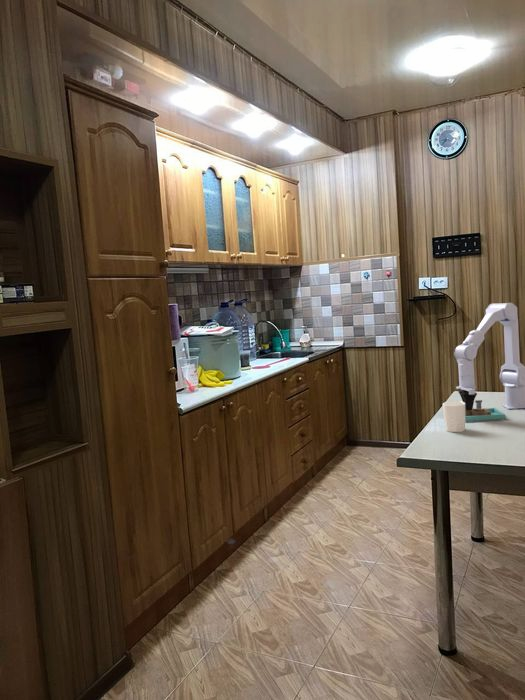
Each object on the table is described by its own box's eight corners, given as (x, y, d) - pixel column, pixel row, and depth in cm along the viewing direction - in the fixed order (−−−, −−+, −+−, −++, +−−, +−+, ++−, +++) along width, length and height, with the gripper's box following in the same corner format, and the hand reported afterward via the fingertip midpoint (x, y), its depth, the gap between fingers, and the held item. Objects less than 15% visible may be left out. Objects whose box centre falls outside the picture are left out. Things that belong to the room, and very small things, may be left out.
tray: (495, 412, 222) (495, 407, 222) (505, 419, 211) (505, 414, 210) (454, 415, 224) (454, 410, 224) (462, 422, 212) (462, 417, 212)
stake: (481, 409, 229) (481, 399, 229) (483, 410, 227) (482, 400, 227) (475, 410, 230) (474, 400, 229) (476, 411, 228) (475, 401, 227)
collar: (485, 413, 220) (486, 401, 220) (491, 417, 213) (491, 404, 213) (459, 413, 221) (460, 401, 221) (464, 417, 215) (464, 404, 214)
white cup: (442, 432, 201) (440, 405, 200) (446, 426, 208) (444, 401, 207) (465, 433, 197) (463, 405, 196) (468, 427, 204) (466, 401, 203)
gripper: (451, 373, 224) (453, 406, 225) (460, 378, 209) (462, 413, 211) (469, 371, 223) (471, 404, 224) (479, 377, 209) (481, 412, 210)
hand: (468, 409), depth 218 cm, fingers closed on collar, 2 cm apart
